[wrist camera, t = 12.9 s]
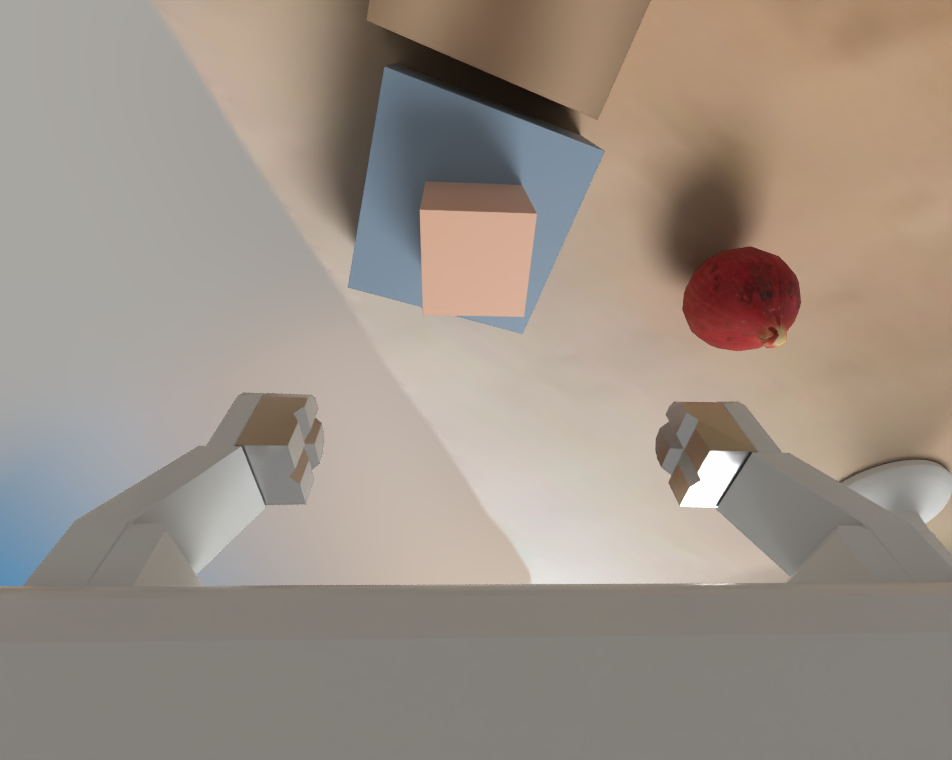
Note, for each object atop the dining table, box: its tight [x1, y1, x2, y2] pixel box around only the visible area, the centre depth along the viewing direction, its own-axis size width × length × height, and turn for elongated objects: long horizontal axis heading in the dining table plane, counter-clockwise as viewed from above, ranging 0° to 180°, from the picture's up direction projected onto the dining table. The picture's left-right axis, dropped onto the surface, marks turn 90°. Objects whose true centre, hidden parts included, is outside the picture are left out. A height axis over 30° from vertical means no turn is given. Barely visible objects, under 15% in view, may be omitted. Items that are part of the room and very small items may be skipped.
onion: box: [682, 247, 801, 351], centre depth 25 cm, size 6×6×8 cm
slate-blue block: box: [348, 64, 605, 334], centre depth 23 cm, size 10×10×5 cm
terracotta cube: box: [420, 181, 537, 317], centre depth 20 cm, size 4×4×4 cm
